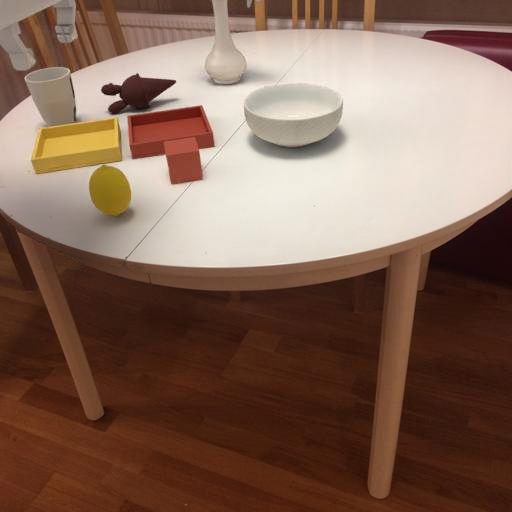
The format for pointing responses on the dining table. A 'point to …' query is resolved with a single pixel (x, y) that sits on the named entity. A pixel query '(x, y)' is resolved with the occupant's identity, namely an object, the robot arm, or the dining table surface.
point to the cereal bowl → (293, 113)
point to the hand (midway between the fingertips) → (48, 54)
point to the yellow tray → (77, 145)
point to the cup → (53, 95)
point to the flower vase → (224, 49)
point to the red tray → (167, 130)
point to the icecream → (136, 92)
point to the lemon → (109, 190)
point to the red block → (183, 160)
